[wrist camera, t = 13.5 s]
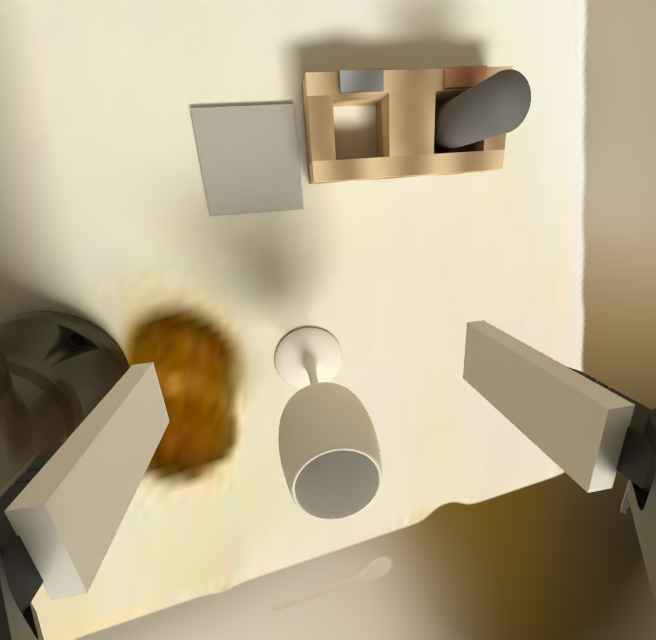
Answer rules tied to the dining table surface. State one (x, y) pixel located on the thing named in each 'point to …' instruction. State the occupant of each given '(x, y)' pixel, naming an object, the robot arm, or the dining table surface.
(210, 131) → the pad
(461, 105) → the plug
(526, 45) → the dining table surface
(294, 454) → the wineglass
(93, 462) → the robot arm
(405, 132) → the socket block
